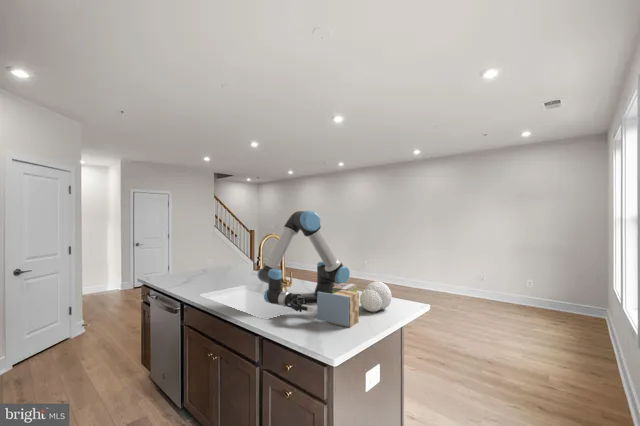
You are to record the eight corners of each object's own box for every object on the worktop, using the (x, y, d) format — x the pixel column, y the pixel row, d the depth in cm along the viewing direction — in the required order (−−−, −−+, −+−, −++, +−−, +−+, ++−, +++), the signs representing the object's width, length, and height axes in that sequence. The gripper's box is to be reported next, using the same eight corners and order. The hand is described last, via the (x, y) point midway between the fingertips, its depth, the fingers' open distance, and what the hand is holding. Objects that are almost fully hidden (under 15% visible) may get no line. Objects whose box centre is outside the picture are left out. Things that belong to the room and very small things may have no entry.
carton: (341, 317, 161) (341, 289, 161) (358, 321, 156) (358, 292, 156) (332, 323, 152) (332, 293, 153) (350, 327, 147) (350, 296, 147)
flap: (318, 318, 157) (318, 291, 157) (349, 325, 147) (349, 296, 147) (317, 319, 156) (317, 291, 156) (348, 326, 146) (348, 297, 147)
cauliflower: (372, 288, 192) (376, 271, 181) (395, 305, 183) (401, 288, 172) (352, 307, 180) (355, 290, 170) (376, 326, 171) (381, 310, 161)
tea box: (347, 316, 163) (347, 289, 163) (330, 313, 168) (331, 287, 168) (357, 309, 177) (357, 283, 177) (341, 306, 181) (341, 281, 181)
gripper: (301, 301, 177) (332, 307, 165) (273, 312, 156) (306, 320, 144) (301, 288, 177) (333, 293, 165) (273, 298, 156) (306, 304, 144)
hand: (320, 306), depth 155 cm, fingers open, 13 cm apart
